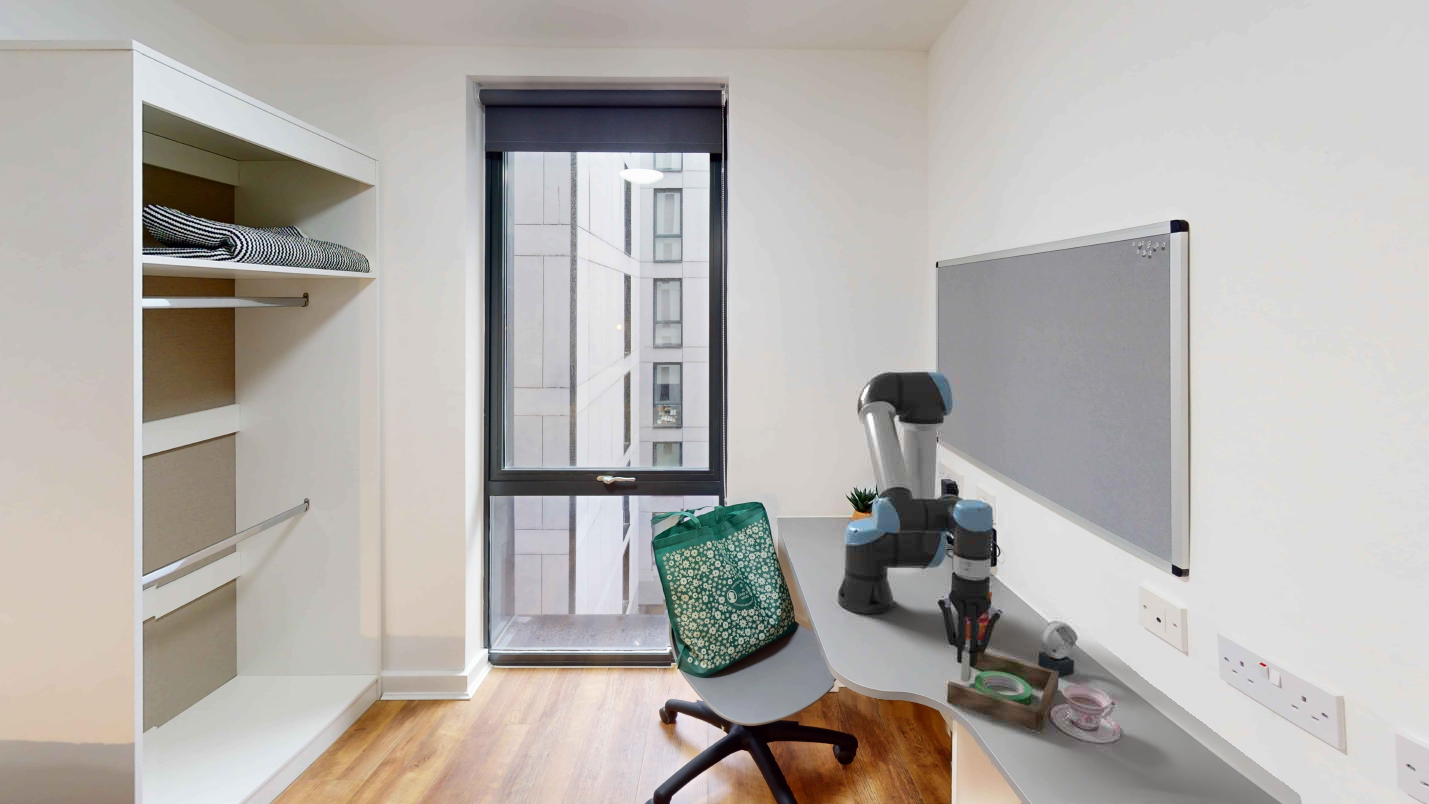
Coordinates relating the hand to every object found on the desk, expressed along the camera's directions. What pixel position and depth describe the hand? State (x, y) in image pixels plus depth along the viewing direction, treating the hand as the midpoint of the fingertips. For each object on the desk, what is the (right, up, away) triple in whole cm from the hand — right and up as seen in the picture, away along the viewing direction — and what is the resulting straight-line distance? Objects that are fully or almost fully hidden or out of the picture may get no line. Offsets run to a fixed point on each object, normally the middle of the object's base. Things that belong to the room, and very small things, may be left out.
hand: (966, 678), depth 139 cm
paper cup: (+11, +1, +22) cm, 24 cm away
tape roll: (+6, -2, -4) cm, 8 cm away
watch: (+22, -1, +6) cm, 23 cm away
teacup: (+17, -3, -14) cm, 23 cm away
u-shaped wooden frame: (+6, -2, -5) cm, 8 cm away
